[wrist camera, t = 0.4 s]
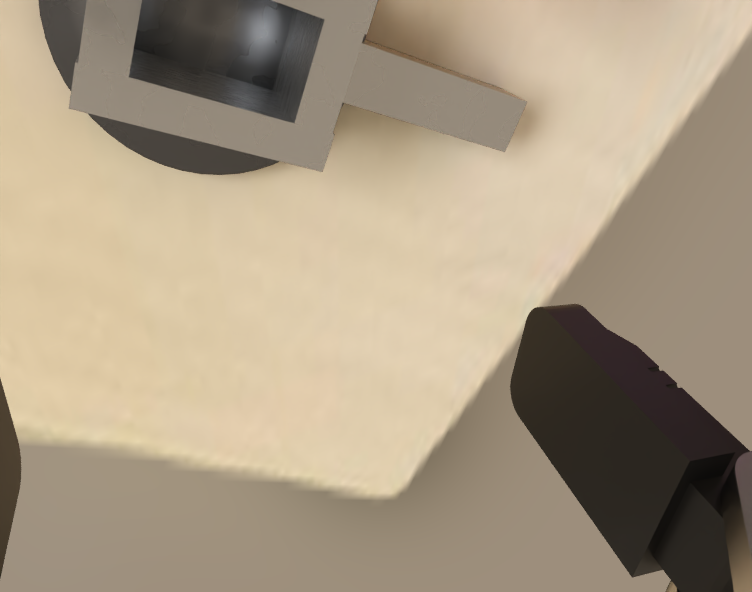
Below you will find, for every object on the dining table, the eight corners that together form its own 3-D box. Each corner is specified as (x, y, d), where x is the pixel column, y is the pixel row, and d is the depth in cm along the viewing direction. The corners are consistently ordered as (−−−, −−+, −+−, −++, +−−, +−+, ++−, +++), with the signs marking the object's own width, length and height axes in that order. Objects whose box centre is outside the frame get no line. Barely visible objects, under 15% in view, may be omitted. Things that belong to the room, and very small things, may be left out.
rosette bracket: (65, -240, 25) (38, -287, 19) (547, -17, 35) (631, 0, 29) (25, 124, 31) (-4, 178, 25) (445, 223, 41) (497, 278, 35)
